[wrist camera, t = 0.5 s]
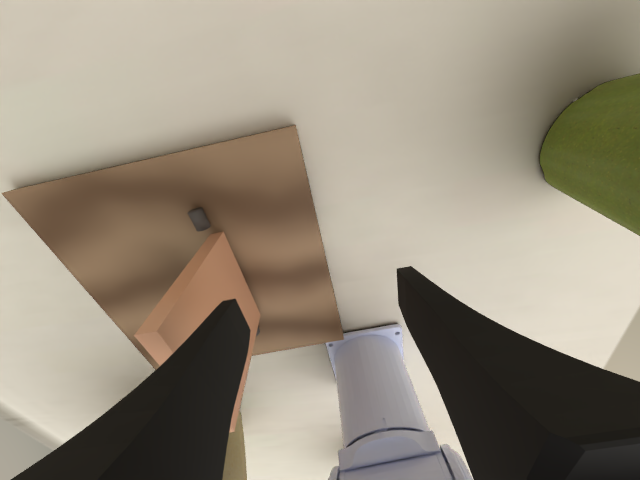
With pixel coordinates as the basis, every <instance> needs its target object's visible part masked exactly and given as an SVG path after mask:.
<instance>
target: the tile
mask: <svg viewBox="0 0 640 480" xmlns="http://www.w3.org/2000/svg"><path fill="white" fill-rule="evenodd" d="M230 299H236V300H237V303H238V305H239V307H240V309H241V311H242V313H243V315H244V317H245V319H246V321H247V324H248V326H249V328H250V330H251V332H250V341H249V349H248V354H247V359H246V363H245V367H244V371H243V375H242V378H241V382H240V386H239V390H238V394H237V398H236V402H235V405H234V410H233V414H232V419H231V425H230V431H229V432H234V431H235V427H236V422H237V418H238V413H239V409H240V404H241V400H242V396H243V391H244V387H245V382H246V378H247V373H248V369H249V364H250V360H251V355H252V351H253V346H254V342H255V337H256V333H257V329H258V324H259V320H260V315H261V314H260V312H259V310H258V308H257V306H256V303H255V301H254V299H253V297H252V294H251V292H250V290H249V288H248V285H247V283H246V281H245V279H244V276H243V274H242V272H241V270H240V267H239V265H238V263H237V261H236V259H235V256H234V254H233V252H232V250H231V247H230V245H229V243H228V241H227V238H226V236H225V234H224V232H218V233H214V234H210V235H209V237H208V238H207V239H206V241H205V242H204V243H203V245H202V246H201V247H200V249H199V250H198V251H197V252H196V254H195V255H194V256H193V258H192V259H191V260H190V262H189V263H188V264H187V266H186V267H185V268H184V270H183V271H182V272H181V274H180V275H179V276H178V278H177V279H176V280H175V282H174V283H173V284H172V286H171V287H170V288H169V290H168V291H167V292H166V294H165V295H164V296H163V297H162V299H161V300H160V301H159V303H158V304H157V305H156V307H155V308H154V309H153V311H152V312H151V313H150V315H149V316H148V317H147V319H146V320H145V321H144V323H143V324H142V325H141V327H140V328H139V329H138V331H137V332H136V333H135V335H134V336H135V337H136V339H137V340H138V341H139V342H140V343H141V344H142V346H143V347H144V348H145V349H146V350H147V351H148V353H149V354H150V355H151V356H152V357H153V359H154V360H155V361H156V362H157V363H158V364H159V366H161V365H162V364H163V363H164V362H165V361H166V360H167V359H168V358H169V357H170V356H171V355H172V354H173V353H174V352H175V351H176V350H177V349H178V348H179V347H180V346H181V345H182V344H183V343H184V342H185V341H186V340H187V339H188V337H189V336H190V335H191V334H192V333H193V332H194V331H195V330H196V329H197V328H198V327H199V326H200V324H201V323H202V322H203V321H204V320H205V319H206V318H207V317H208V316H209V315H210V313H211V312H212V311H213V310H214V309H215V308H216V307H217V306H218V305H219V304H220V303H221V302H222V301H225V300H230Z"/></svg>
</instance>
